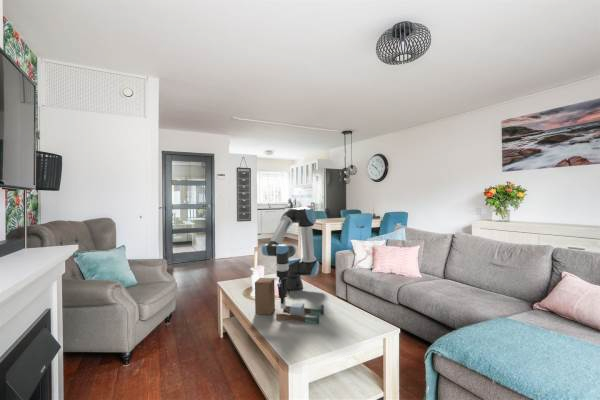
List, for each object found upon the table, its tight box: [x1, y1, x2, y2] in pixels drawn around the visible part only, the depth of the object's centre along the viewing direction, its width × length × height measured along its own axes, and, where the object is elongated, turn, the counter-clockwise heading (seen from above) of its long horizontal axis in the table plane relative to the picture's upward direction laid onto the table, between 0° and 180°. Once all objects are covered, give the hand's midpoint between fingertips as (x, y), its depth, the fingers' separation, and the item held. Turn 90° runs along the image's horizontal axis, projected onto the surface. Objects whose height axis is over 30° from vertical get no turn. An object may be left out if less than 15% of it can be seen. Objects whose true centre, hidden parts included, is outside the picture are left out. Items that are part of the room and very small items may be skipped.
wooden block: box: [254, 277, 276, 316], centre depth 180 cm, size 10×10×20 cm
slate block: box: [289, 301, 305, 316], centre depth 172 cm, size 7×7×7 cm
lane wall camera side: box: [275, 312, 320, 325], centre depth 166 cm, size 1×26×6 cm, turn 73°
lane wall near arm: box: [283, 303, 325, 316], centre depth 178 cm, size 1×26×6 cm, turn 73°
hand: (283, 308), depth 174 cm, fingers closed
